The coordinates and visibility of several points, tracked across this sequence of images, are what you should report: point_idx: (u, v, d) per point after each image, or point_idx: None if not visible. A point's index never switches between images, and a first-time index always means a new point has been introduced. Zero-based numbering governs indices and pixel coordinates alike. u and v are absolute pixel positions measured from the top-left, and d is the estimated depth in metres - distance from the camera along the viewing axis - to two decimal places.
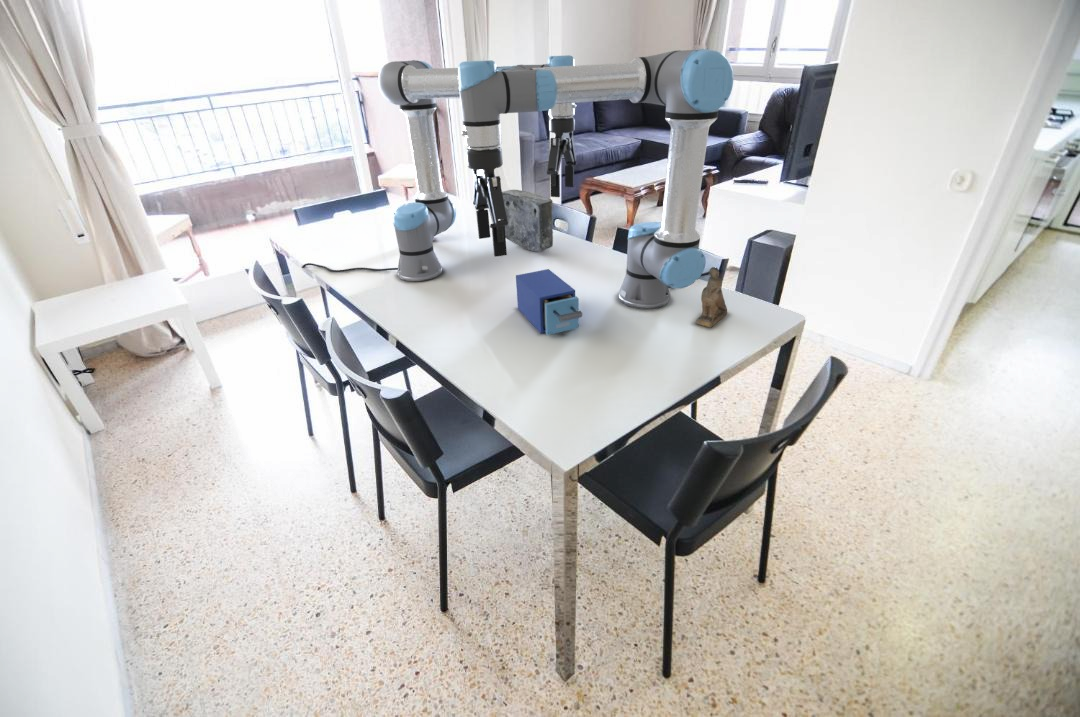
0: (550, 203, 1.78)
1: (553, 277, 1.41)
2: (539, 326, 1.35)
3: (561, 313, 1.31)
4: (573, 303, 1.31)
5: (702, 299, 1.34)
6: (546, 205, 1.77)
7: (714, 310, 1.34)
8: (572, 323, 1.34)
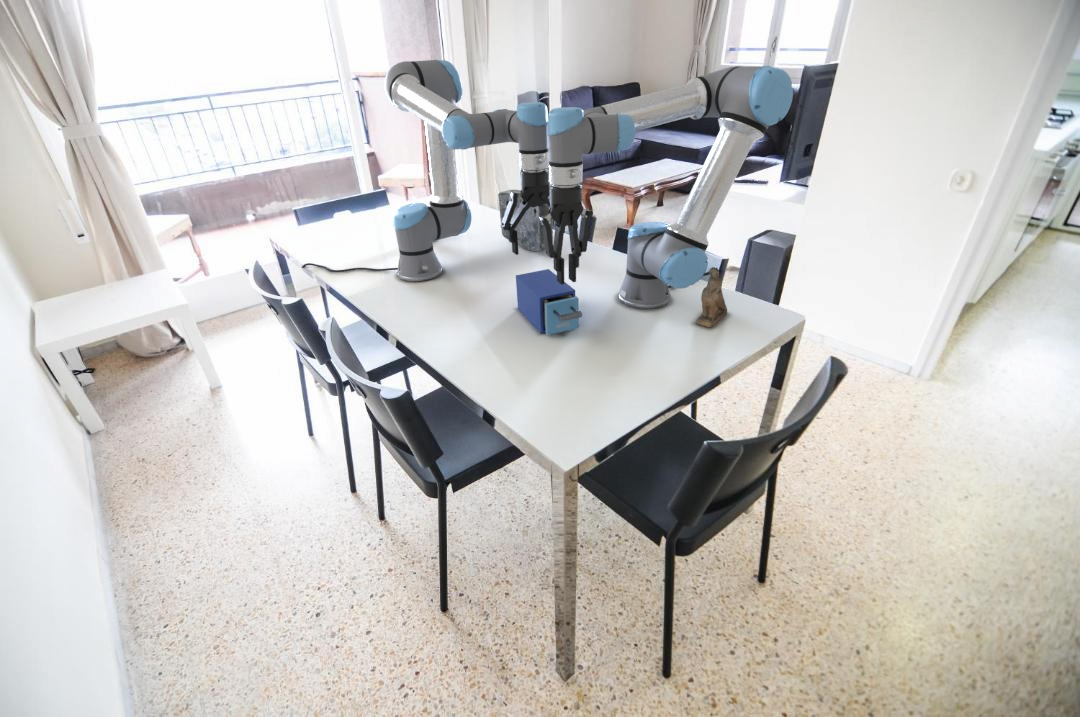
0: None
1: (553, 277, 1.41)
2: (539, 326, 1.35)
3: (561, 313, 1.31)
4: (573, 303, 1.31)
5: (702, 299, 1.34)
6: None
7: (714, 310, 1.34)
8: (572, 323, 1.34)
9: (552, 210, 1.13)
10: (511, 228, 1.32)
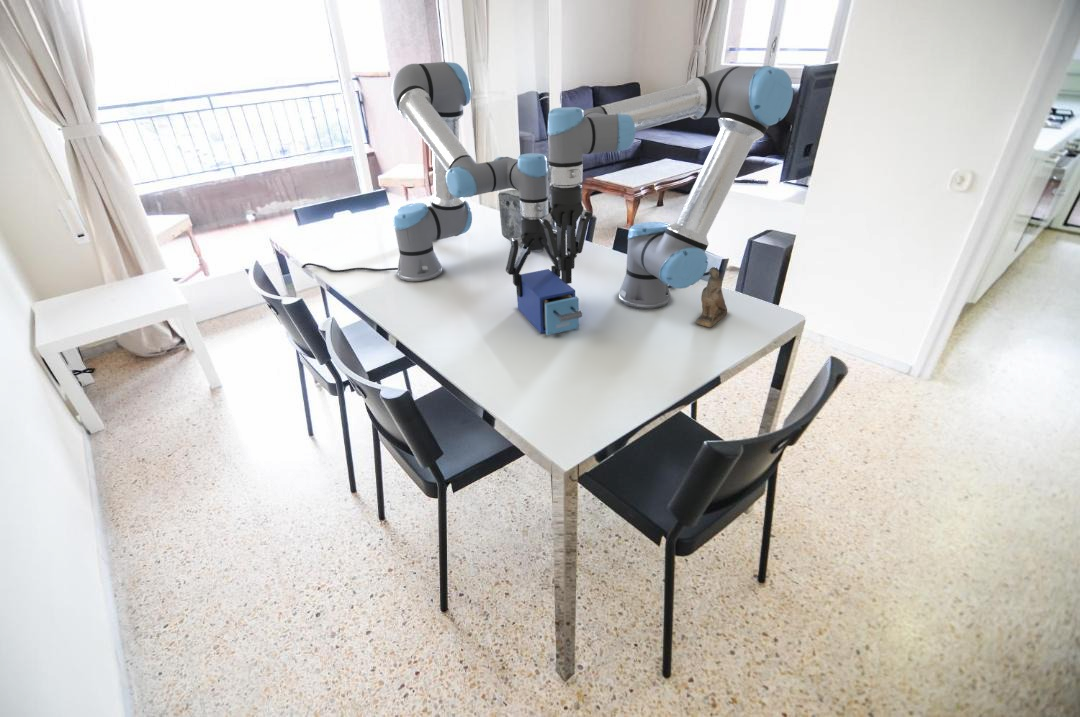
0: None
1: (553, 277, 1.41)
2: (539, 326, 1.35)
3: (561, 313, 1.31)
4: (573, 303, 1.31)
5: (702, 299, 1.34)
6: None
7: (714, 310, 1.34)
8: (572, 323, 1.34)
9: (552, 210, 1.13)
10: (515, 273, 1.38)
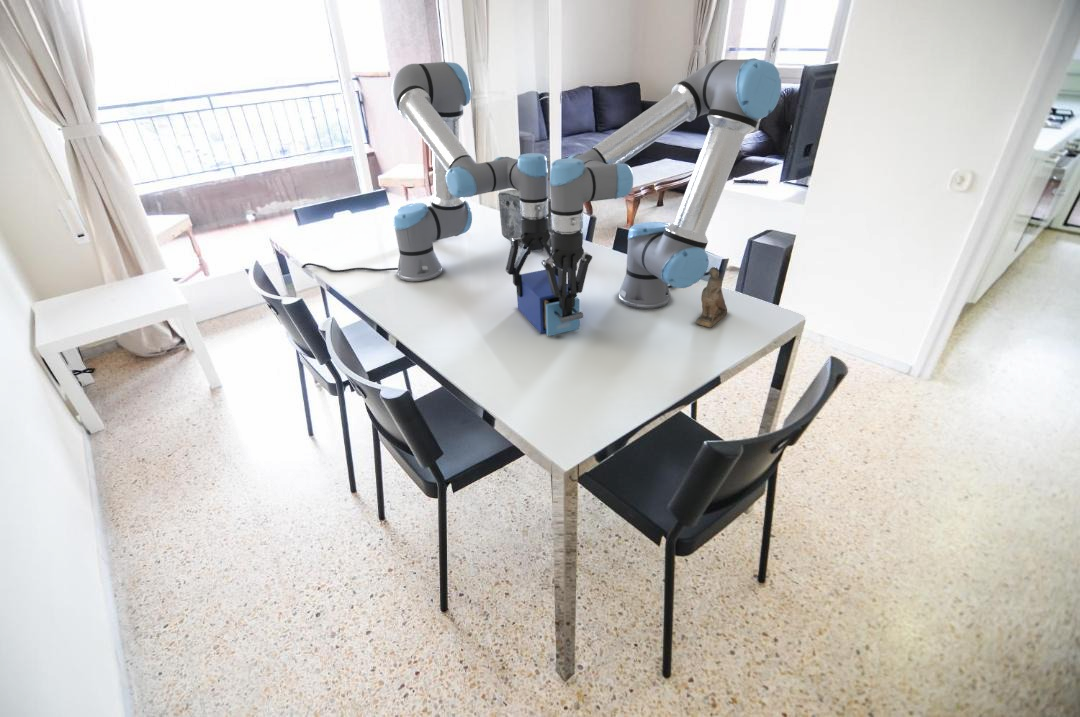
0: (550, 203, 1.78)
1: None
2: (539, 326, 1.35)
3: None
4: None
5: (702, 299, 1.34)
6: None
7: (714, 310, 1.34)
8: (573, 324, 1.34)
9: (553, 254, 1.18)
10: (515, 273, 1.38)
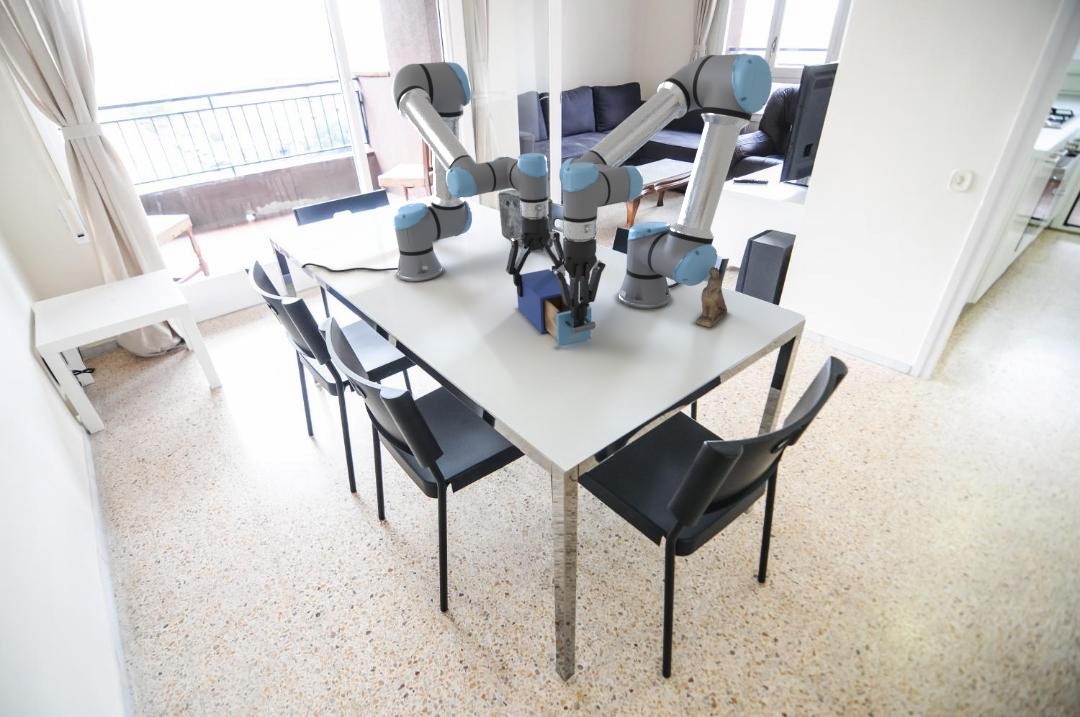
0: (550, 203, 1.78)
1: (553, 277, 1.41)
2: (539, 326, 1.35)
3: (573, 324, 1.26)
4: None
5: (702, 299, 1.34)
6: None
7: (714, 310, 1.34)
8: (584, 334, 1.29)
9: (565, 263, 1.13)
10: (516, 273, 1.38)
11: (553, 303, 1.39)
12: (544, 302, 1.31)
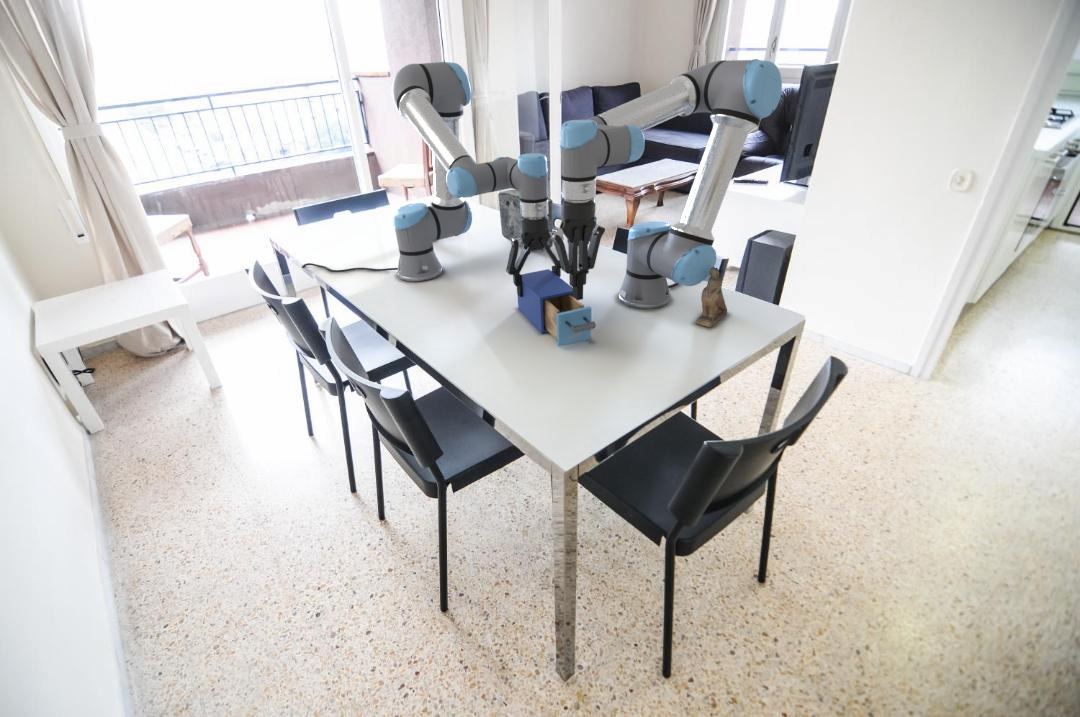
0: (550, 203, 1.78)
1: (553, 277, 1.41)
2: (540, 326, 1.35)
3: (573, 324, 1.26)
4: (586, 313, 1.26)
5: (702, 299, 1.34)
6: None
7: (714, 310, 1.34)
8: (584, 334, 1.29)
9: (564, 226, 1.09)
10: (516, 273, 1.38)
11: (553, 303, 1.39)
12: (544, 302, 1.31)
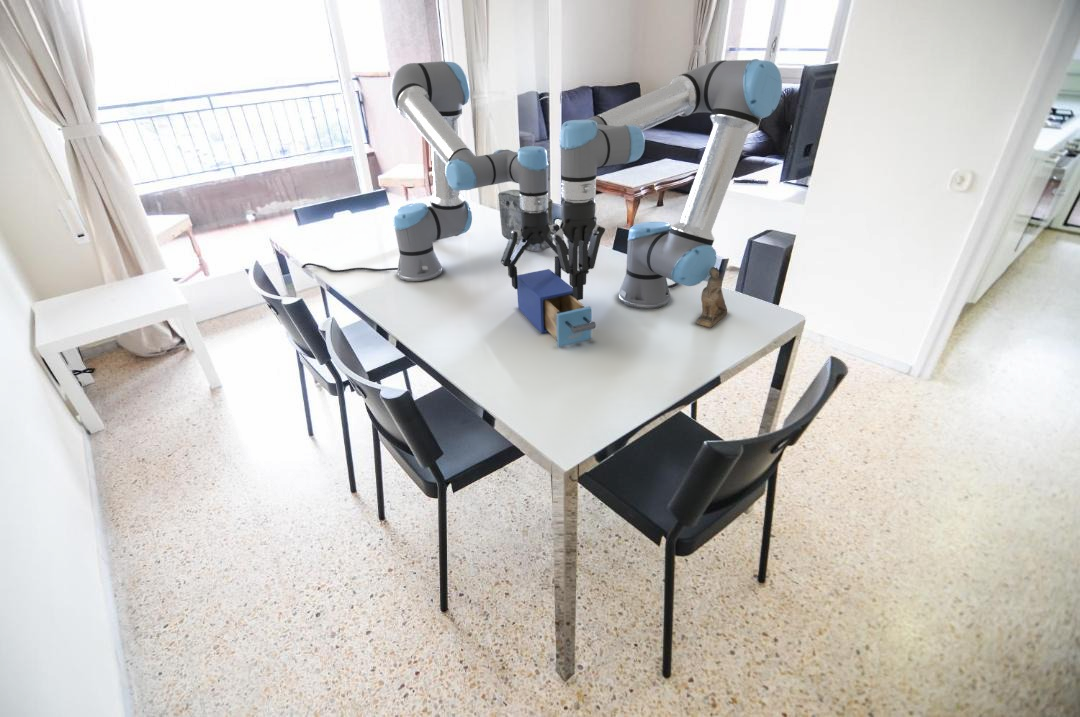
0: (550, 203, 1.78)
1: (553, 277, 1.41)
2: (540, 326, 1.35)
3: (573, 324, 1.26)
4: (586, 313, 1.26)
5: (702, 299, 1.34)
6: None
7: (714, 310, 1.34)
8: (584, 334, 1.29)
9: (564, 226, 1.09)
10: (511, 264, 1.37)
11: (553, 303, 1.39)
12: (544, 302, 1.31)
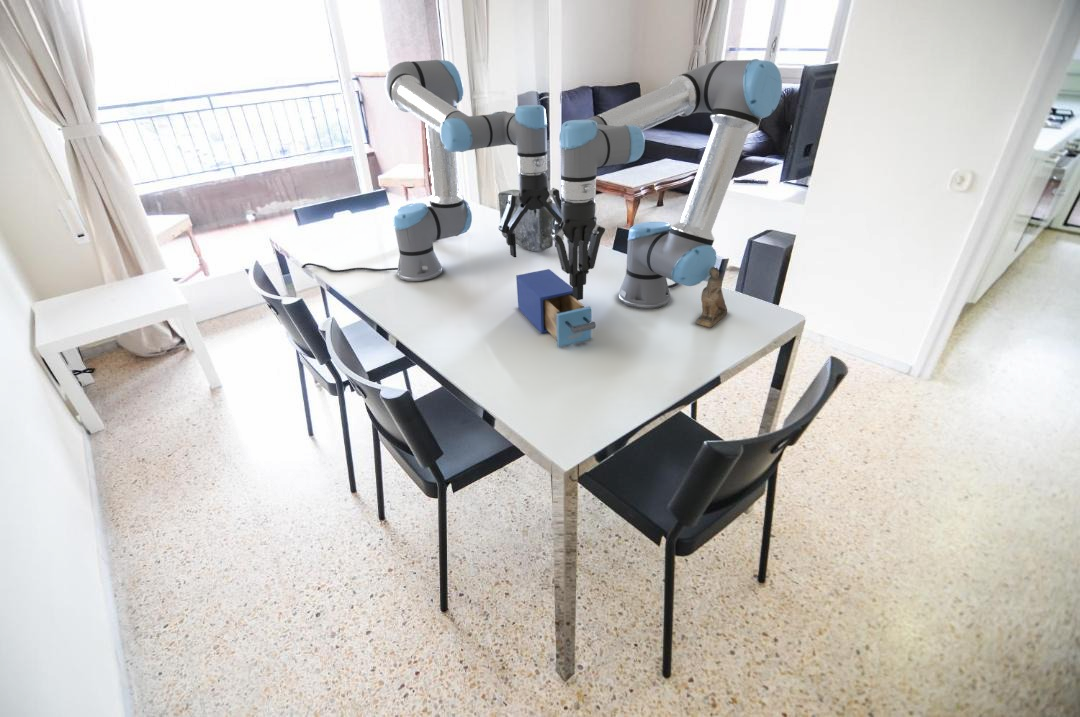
0: (550, 203, 1.78)
1: (553, 277, 1.41)
2: (540, 326, 1.35)
3: (573, 324, 1.26)
4: (586, 313, 1.26)
5: (702, 299, 1.34)
6: None
7: (714, 310, 1.34)
8: (584, 334, 1.29)
9: (564, 226, 1.09)
10: (509, 231, 1.31)
11: (553, 303, 1.39)
12: (544, 302, 1.31)
